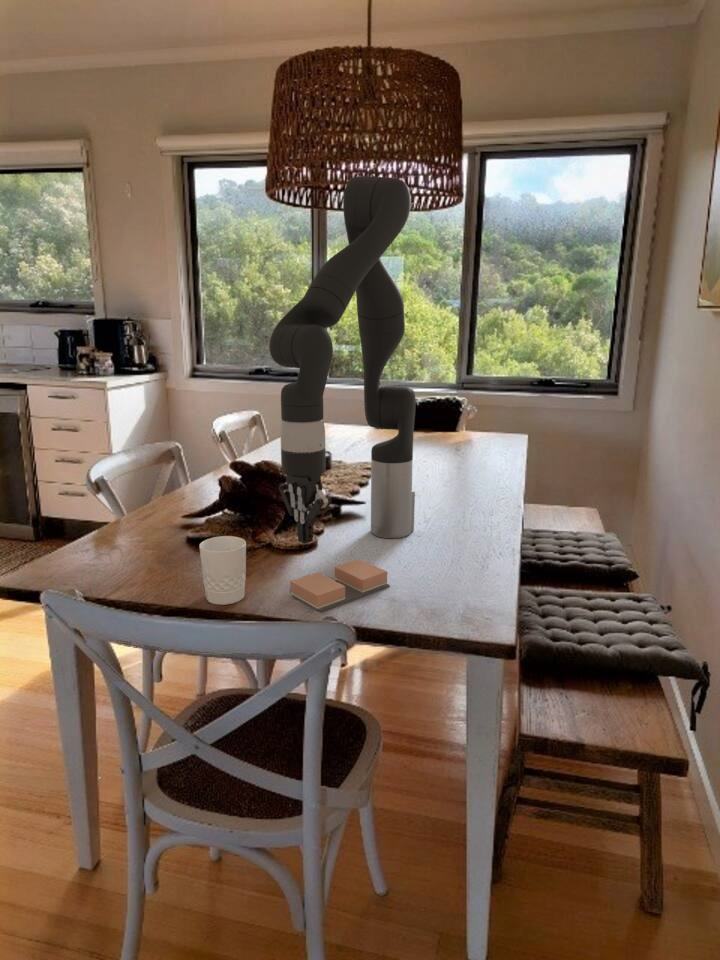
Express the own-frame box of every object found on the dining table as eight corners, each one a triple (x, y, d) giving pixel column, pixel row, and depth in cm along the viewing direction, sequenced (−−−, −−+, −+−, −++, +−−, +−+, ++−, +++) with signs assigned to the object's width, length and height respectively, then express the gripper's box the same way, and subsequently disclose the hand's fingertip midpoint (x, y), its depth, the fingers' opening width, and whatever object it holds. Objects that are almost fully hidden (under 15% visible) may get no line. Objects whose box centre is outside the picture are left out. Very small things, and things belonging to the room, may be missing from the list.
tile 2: (358, 559, 123) (387, 571, 117) (358, 570, 123) (387, 583, 117) (334, 566, 119) (362, 580, 113) (334, 578, 119) (362, 592, 114)
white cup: (193, 599, 112) (189, 545, 109) (225, 584, 118) (223, 533, 115) (225, 610, 107) (222, 555, 105) (257, 594, 114) (255, 541, 111)
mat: (361, 573, 123) (361, 571, 123) (389, 586, 117) (389, 584, 117) (292, 596, 113) (292, 594, 112) (320, 612, 107) (320, 610, 107)
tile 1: (317, 572, 116) (345, 586, 110) (317, 584, 117) (345, 598, 111) (290, 581, 112) (317, 595, 107) (290, 593, 113) (317, 608, 107)
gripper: (345, 449, 105) (345, 547, 110) (298, 436, 115) (301, 527, 119) (308, 455, 100) (310, 558, 105) (263, 442, 110) (266, 536, 115)
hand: (305, 541), depth 112 cm, fingers closed
